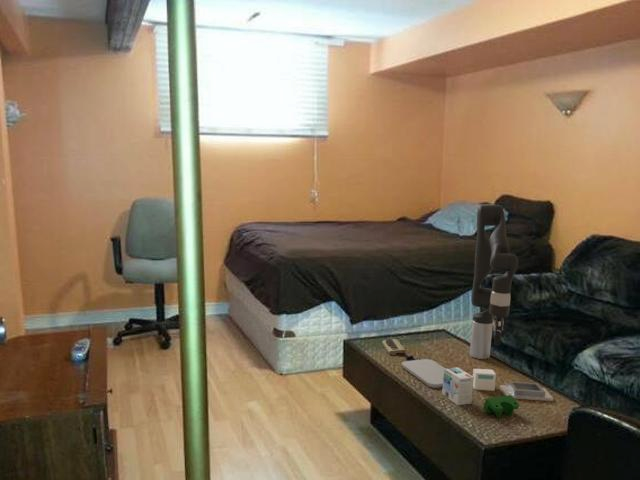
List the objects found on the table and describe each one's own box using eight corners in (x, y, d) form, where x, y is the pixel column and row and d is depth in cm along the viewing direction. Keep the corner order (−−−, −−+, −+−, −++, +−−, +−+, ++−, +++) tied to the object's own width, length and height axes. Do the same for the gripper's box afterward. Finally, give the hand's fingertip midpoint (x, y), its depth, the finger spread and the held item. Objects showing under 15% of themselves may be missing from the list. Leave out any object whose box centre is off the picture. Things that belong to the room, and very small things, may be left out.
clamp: (494, 428, 201) (491, 411, 197) (484, 417, 206) (481, 400, 202) (521, 414, 203) (520, 396, 199) (511, 403, 209) (509, 386, 204)
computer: (381, 344, 275) (382, 338, 275) (397, 344, 276) (398, 338, 276) (388, 355, 260) (389, 349, 259) (405, 356, 261) (406, 349, 260)
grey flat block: (499, 387, 227) (500, 380, 227) (544, 390, 226) (545, 383, 226) (506, 397, 218) (507, 390, 217) (552, 401, 217) (553, 393, 216)
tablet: (430, 390, 223) (431, 384, 222) (398, 366, 247) (399, 361, 246) (464, 385, 229) (464, 380, 228) (429, 363, 253) (430, 358, 252)
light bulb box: (441, 394, 218) (443, 368, 217) (455, 392, 221) (457, 366, 219) (457, 405, 208) (459, 378, 207) (472, 403, 211) (474, 376, 209)
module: (471, 384, 229) (473, 368, 228) (491, 385, 229) (492, 369, 228) (474, 389, 224) (476, 373, 223) (494, 390, 224) (496, 374, 223)
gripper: (489, 297, 228) (485, 335, 230) (491, 306, 214) (487, 346, 216) (508, 299, 226) (504, 337, 228) (511, 308, 212) (507, 348, 215)
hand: (496, 341), depth 222 cm, fingers open, 8 cm apart
